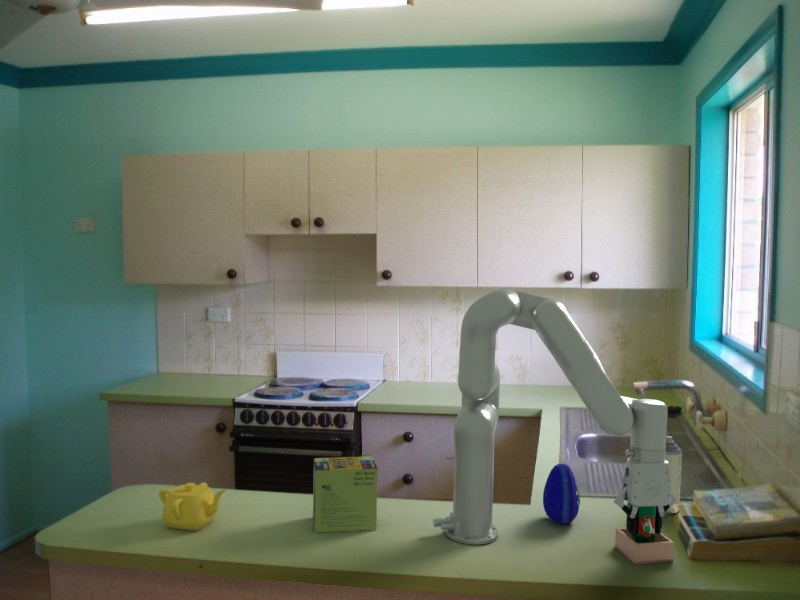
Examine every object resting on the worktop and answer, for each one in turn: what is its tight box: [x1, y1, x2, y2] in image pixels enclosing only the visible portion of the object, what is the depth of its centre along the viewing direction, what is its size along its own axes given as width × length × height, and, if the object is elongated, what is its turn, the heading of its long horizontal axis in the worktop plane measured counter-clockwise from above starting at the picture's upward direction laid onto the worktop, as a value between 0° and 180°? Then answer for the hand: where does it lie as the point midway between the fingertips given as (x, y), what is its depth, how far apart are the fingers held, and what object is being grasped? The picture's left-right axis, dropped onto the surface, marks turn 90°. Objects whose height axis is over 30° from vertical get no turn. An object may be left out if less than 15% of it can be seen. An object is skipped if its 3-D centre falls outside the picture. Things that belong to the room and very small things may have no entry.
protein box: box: [312, 456, 378, 534], centre depth 170 cm, size 10×15×16 cm
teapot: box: [158, 482, 227, 532], centre depth 168 cm, size 14×13×10 cm
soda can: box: [631, 506, 657, 543], centre depth 156 cm, size 5×5×12 cm
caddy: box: [614, 527, 675, 565], centre depth 156 cm, size 9×9×4 cm
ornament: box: [542, 463, 581, 524], centre depth 175 cm, size 11×9×15 cm
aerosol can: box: [665, 435, 683, 515], centre depth 184 cm, size 7×7×20 cm
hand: (643, 531), depth 156 cm, fingers open, 5 cm apart
